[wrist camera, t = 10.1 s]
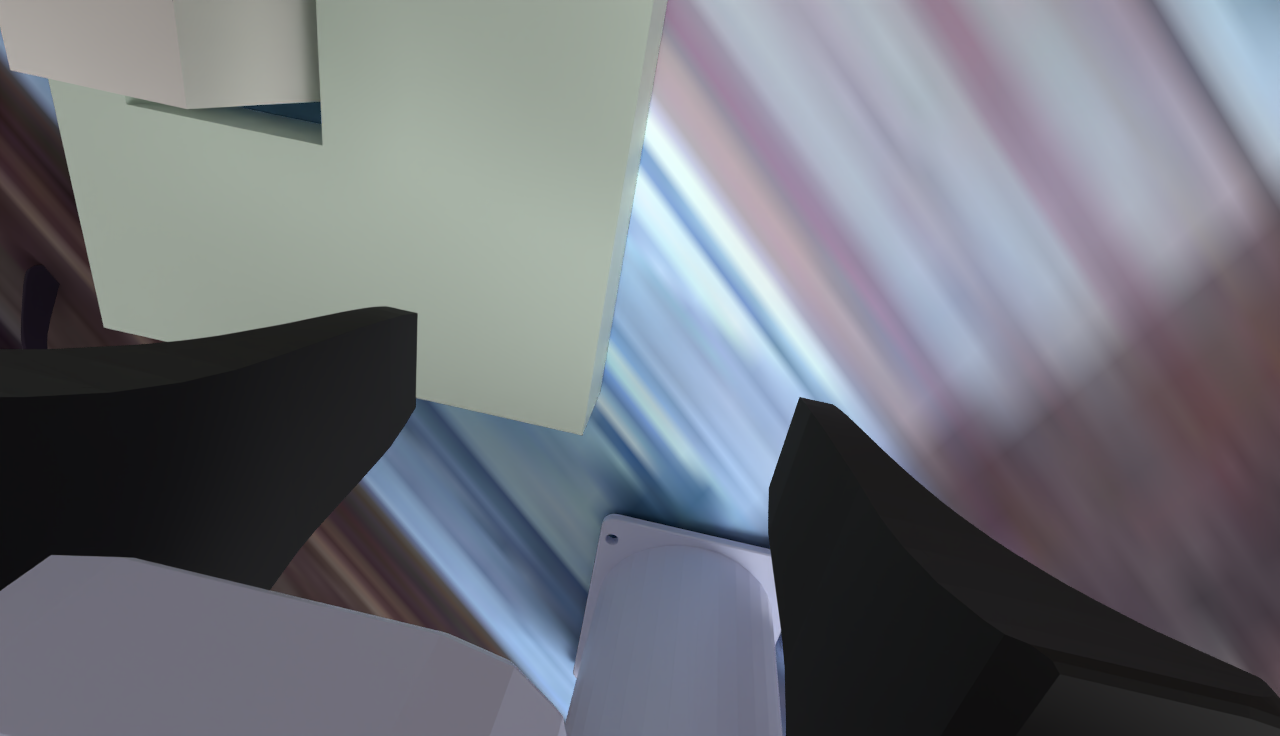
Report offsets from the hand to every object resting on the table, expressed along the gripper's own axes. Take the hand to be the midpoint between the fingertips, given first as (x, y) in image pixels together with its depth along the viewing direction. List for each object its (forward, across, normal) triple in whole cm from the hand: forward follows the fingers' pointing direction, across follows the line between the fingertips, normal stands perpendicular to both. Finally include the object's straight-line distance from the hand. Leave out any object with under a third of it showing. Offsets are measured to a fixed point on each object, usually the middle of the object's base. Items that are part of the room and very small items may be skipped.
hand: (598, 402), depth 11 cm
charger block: (+10, +12, -5) cm, 16 cm away
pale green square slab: (+9, +9, -3) cm, 13 cm away
